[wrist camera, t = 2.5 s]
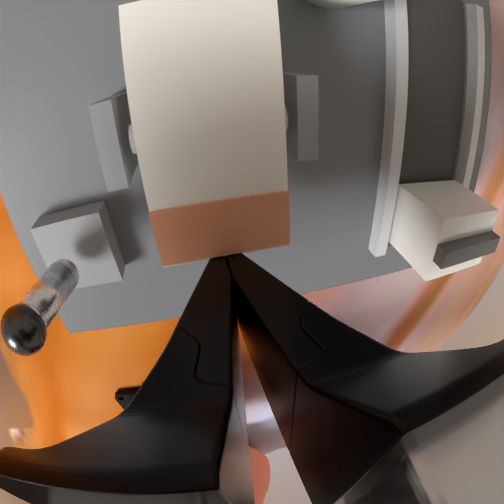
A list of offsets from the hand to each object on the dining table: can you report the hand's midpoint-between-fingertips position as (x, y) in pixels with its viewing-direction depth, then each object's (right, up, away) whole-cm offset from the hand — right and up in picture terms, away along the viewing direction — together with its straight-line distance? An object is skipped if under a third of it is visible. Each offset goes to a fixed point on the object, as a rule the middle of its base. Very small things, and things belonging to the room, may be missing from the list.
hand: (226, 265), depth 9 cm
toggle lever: (-6, 0, 0) cm, 6 cm away
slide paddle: (+9, +3, +4) cm, 10 cm away
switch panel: (+2, +7, +2) cm, 7 cm away
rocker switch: (0, +4, -2) cm, 4 cm away
